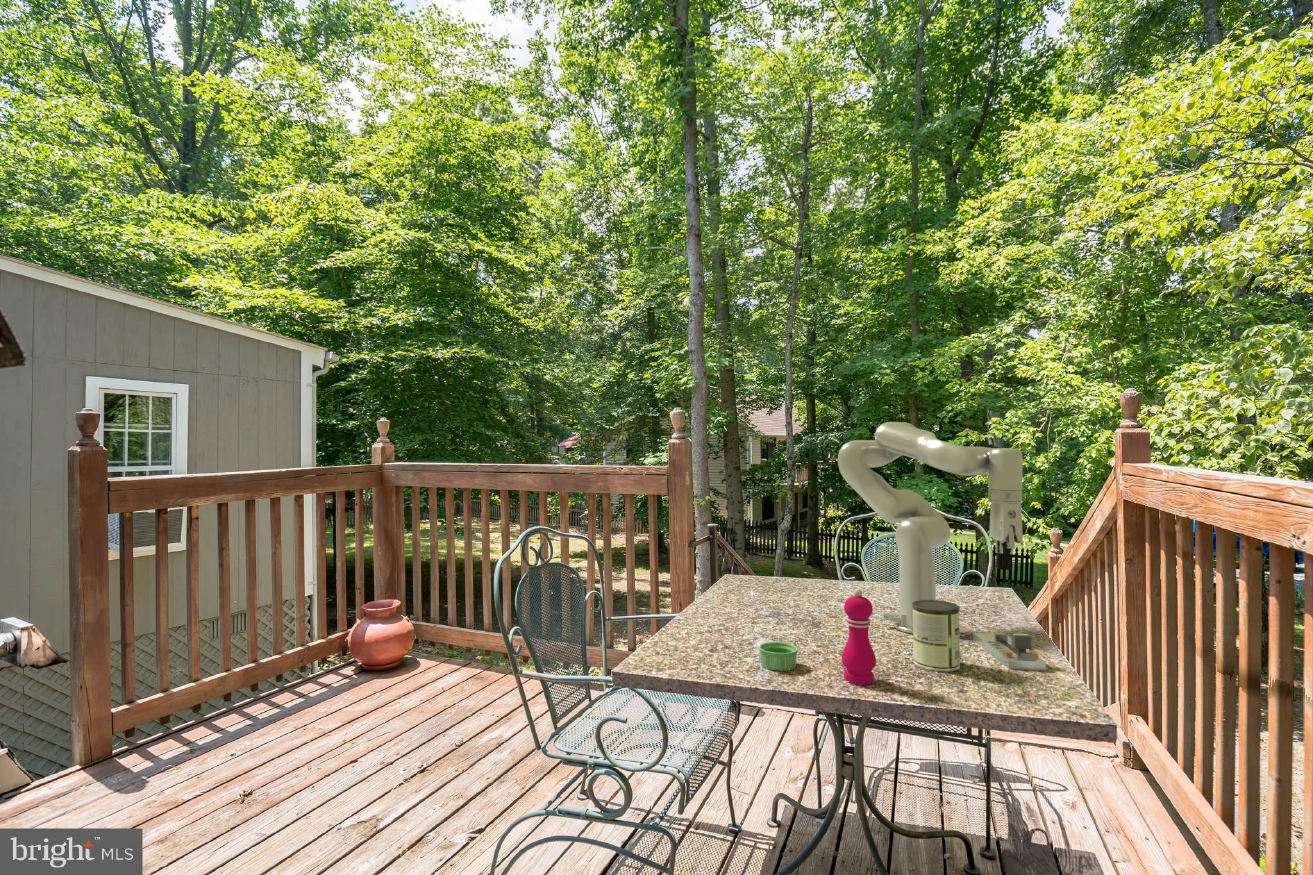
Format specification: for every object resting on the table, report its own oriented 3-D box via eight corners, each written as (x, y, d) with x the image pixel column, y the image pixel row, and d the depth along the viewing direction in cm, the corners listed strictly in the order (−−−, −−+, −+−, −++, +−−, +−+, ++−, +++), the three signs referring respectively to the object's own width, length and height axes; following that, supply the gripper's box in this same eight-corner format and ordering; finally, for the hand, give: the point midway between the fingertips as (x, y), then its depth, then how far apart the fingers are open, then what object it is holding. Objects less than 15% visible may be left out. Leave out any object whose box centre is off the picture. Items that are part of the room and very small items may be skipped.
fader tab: (1015, 655, 153) (1014, 635, 153) (1011, 652, 155) (1011, 632, 155) (1031, 655, 152) (1031, 635, 152) (1027, 653, 154) (1027, 633, 154)
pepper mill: (837, 675, 146) (836, 586, 147) (868, 674, 147) (867, 585, 147) (849, 686, 139) (848, 593, 139) (881, 685, 140) (880, 592, 140)
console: (1008, 668, 150) (1008, 653, 150) (972, 640, 173) (972, 626, 173) (1045, 670, 149) (1045, 654, 149) (1004, 641, 172) (1004, 627, 172)
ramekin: (775, 674, 147) (774, 655, 147) (751, 663, 155) (751, 644, 155) (805, 668, 151) (805, 649, 151) (781, 657, 159) (781, 639, 159)
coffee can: (911, 655, 160) (911, 598, 160) (957, 660, 156) (957, 601, 157) (913, 669, 150) (913, 607, 150) (962, 674, 147) (962, 611, 147)
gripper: (1032, 499, 157) (1031, 575, 157) (1009, 494, 172) (1008, 563, 172) (999, 499, 158) (998, 574, 158) (979, 493, 173) (978, 562, 173)
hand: (1003, 568), depth 165 cm, fingers closed
